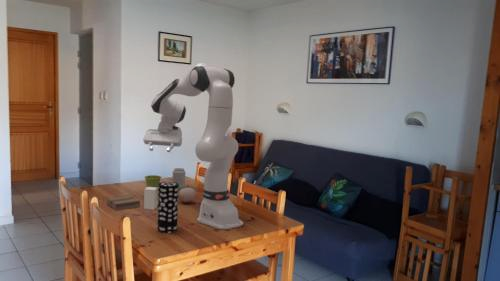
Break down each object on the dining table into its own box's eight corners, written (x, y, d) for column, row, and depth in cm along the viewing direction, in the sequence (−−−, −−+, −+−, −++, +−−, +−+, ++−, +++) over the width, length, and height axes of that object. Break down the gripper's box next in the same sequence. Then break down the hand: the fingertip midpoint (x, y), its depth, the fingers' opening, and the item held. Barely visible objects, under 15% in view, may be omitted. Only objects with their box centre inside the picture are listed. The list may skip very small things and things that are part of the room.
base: (139, 206, 203) (139, 201, 203) (116, 210, 195) (116, 204, 195) (129, 201, 212) (129, 195, 212) (107, 204, 204) (107, 198, 204)
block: (157, 206, 205) (157, 187, 203) (153, 209, 200) (154, 190, 198) (147, 206, 205) (147, 186, 204) (144, 208, 200) (144, 189, 199)
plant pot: (140, 191, 232) (141, 176, 231) (153, 188, 240) (153, 174, 239) (151, 194, 227) (152, 179, 226) (164, 191, 234) (164, 177, 233)
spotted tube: (159, 233, 168) (160, 186, 165) (155, 227, 175) (156, 182, 173) (179, 232, 171) (180, 186, 168) (174, 225, 178) (176, 181, 176)
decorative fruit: (180, 206, 208) (181, 187, 207) (176, 201, 215) (177, 183, 214) (198, 204, 212) (198, 186, 211) (193, 200, 219) (194, 182, 218)
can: (182, 190, 240) (182, 170, 238) (170, 189, 241) (170, 169, 240) (186, 187, 247) (187, 168, 246) (175, 186, 249) (175, 167, 247)
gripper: (145, 125, 218) (138, 145, 210) (183, 127, 216) (177, 148, 208) (148, 132, 223) (141, 152, 215) (184, 135, 221) (179, 155, 213)
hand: (159, 150), depth 211 cm, fingers open, 8 cm apart
